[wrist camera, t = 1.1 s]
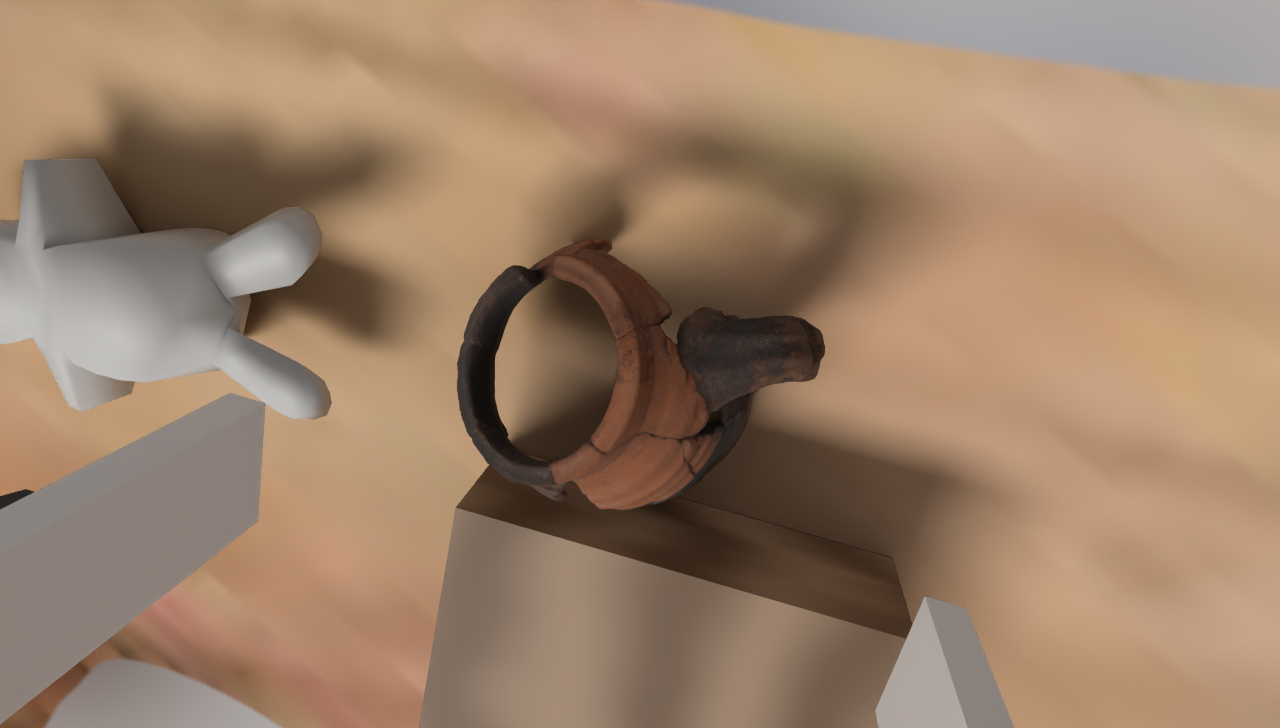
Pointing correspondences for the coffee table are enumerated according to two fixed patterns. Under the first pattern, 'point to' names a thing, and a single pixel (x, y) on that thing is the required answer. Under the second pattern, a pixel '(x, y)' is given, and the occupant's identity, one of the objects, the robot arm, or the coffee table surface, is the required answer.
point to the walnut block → (654, 619)
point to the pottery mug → (635, 383)
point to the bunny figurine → (146, 292)
